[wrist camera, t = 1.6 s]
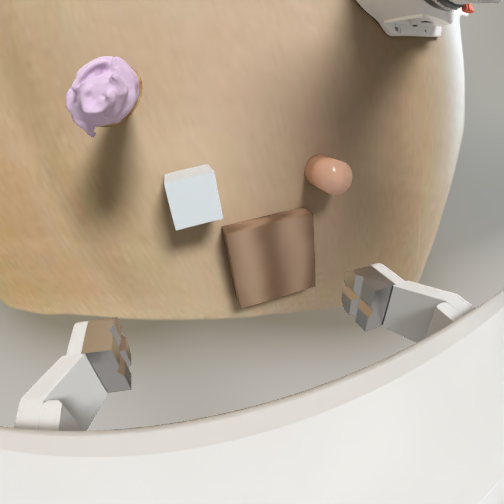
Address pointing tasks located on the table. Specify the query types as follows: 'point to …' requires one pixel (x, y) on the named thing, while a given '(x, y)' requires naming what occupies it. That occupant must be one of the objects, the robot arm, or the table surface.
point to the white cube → (193, 196)
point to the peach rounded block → (328, 174)
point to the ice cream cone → (103, 93)
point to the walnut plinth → (271, 256)
